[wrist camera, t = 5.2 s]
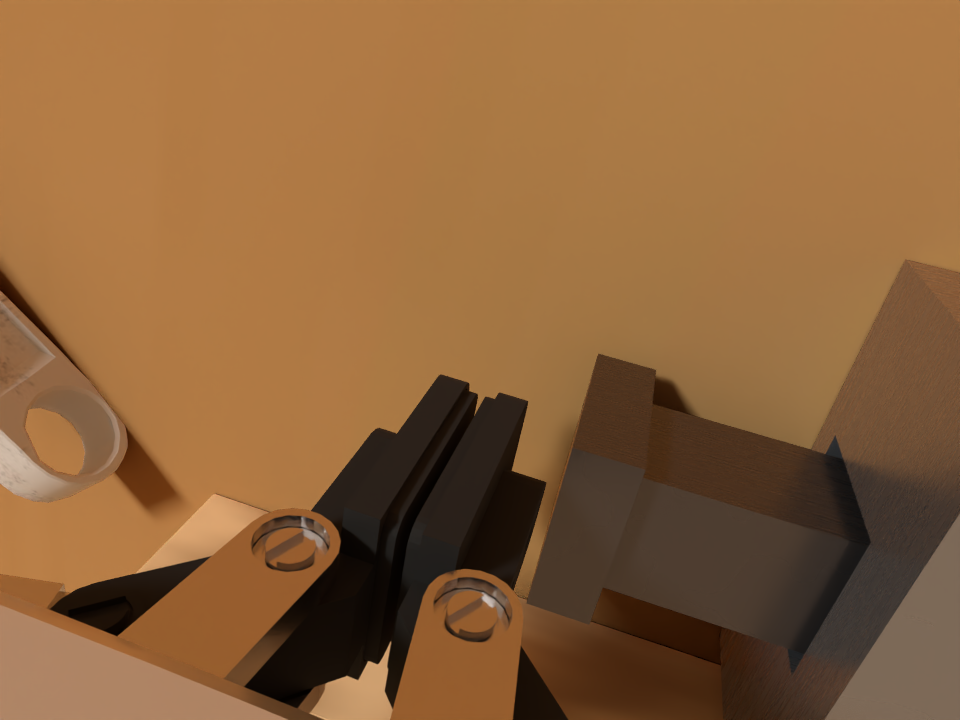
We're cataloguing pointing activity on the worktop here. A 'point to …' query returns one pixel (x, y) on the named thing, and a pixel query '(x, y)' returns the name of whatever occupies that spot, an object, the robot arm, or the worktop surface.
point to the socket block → (883, 533)
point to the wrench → (55, 387)
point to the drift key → (696, 518)
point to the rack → (545, 639)
